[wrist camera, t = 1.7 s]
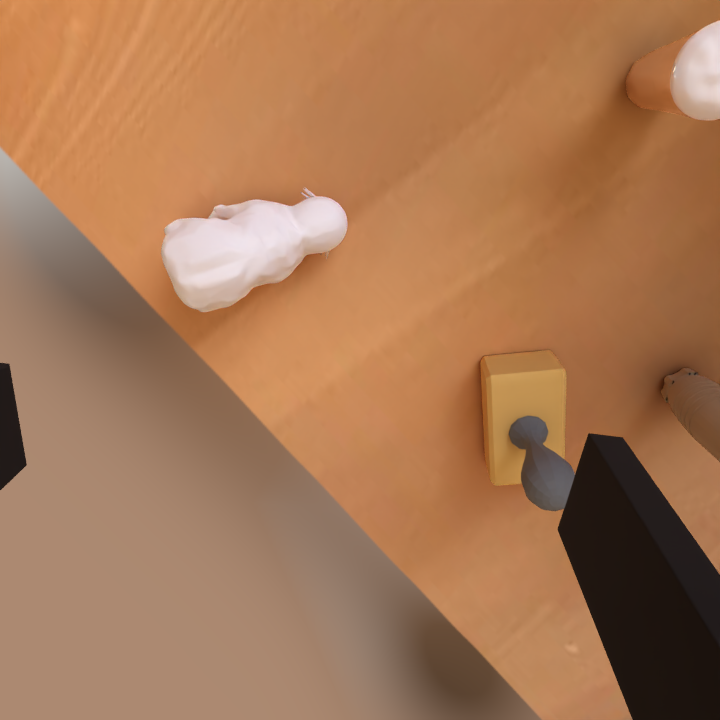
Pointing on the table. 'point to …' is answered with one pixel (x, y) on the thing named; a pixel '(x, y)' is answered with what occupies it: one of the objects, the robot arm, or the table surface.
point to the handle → (695, 406)
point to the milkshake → (680, 76)
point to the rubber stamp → (526, 425)
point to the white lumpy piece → (246, 247)
